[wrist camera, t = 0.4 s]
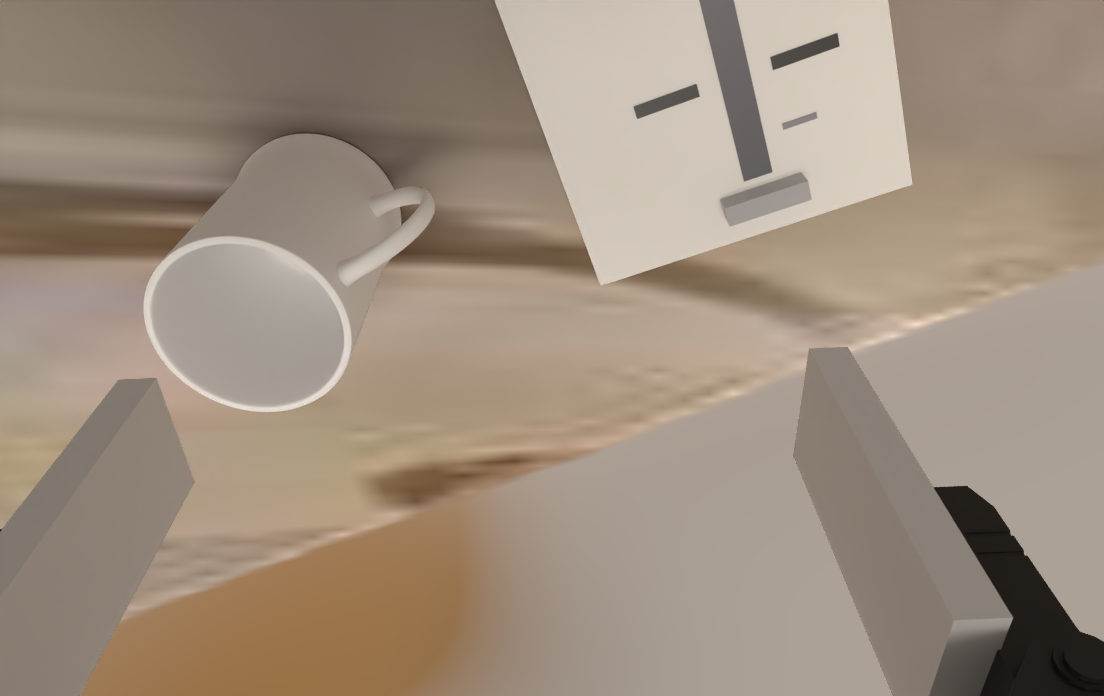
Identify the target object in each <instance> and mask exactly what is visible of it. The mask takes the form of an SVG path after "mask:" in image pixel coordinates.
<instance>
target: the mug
mask: <svg viewBox="0 0 1104 696" xmlns="http://www.w3.org/2000/svg"><path fill="white" fill-rule="evenodd" d="M411 204H420V205H419V207H418V208H417V210H416V211H415V212H414V213H413V214H412V216H411V217H410V218H409V219H408V220H407V221H405V222H404V223H403V224H402V225H401V210H400V207H402V206H406V205H411ZM434 212H435V203H434V200H433V198H432V196H431V194H430V193H429V192H428V191H427V190H425V189H424V188H421V187H405V188H400V189H396V190H394V188H393V186H392V184H391V183H390V181H389V179H388V178H387V176H386V175H385V174H384V172H383V171H382V170H381V169H380V167H379V166H378V165H377V164H376V163H375V162H374V161H373V160H372V159H371V158H369V157H368V156H367V155H366V154H364V153H363V152H362V151H360V150H359V149H357V148H356V147H354V146H352V145H350V144H348V143H346V142H344V141H341V140H339V139H336V138H333V137H329V136H325V135H319V134H293V135H288V136H284V137H280V138H277V139H275V140H273V141H270V142H268V143H267V144H265V145H263V146H262V147H260V148H259V149H258V150H257V151H255V152H254V153H253V154H252V155H251V156H250V157H249V159H248V160H247V161H246V162H245V164H244V165H243V167H242V169H241V171H240V173H239V175H238V177H237V180H236V181H235V182H234V183H233V184H232V185H231V186H230V187H229V188H228V189H227V191H226V192H225V193H224V194H223V195H222V196H221V197H220V198H219V199H218V200H217V201H216V203H215V204H214V205H213V206H212V207H211V208H210V209H209V210H208V211H207V212H206V213H205V214H204V216H203V217H202V218H201V219H200V220H199V221H198V222H197V223H196V224H195V225H194V226H193V228H192V229H191V230H190V231H189V232H188V233H187V234H186V235H185V236H184V237H183V238H182V240H181V241H180V242H179V243H178V244H177V245H176V246H175V247H174V248H173V249H172V250H171V251H170V253H169V254H168V255H167V256H166V257H165V258H164V259H163V260H162V261H161V263H160V264H159V265H158V266H157V268H156V269H155V271H154V272H153V274H152V276H151V278H150V280H149V282H148V285H147V288H146V292H145V296H144V319H145V324H146V328H147V332H148V335H149V337H150V340H151V342H152V344H153V346H154V348H155V350H156V351H157V353H158V355H159V356H160V358H161V359H162V360H163V362H164V363H165V364H166V365H167V367H168V368H169V369H170V370H171V371H172V372H173V373H174V374H175V375H176V376H177V377H178V378H179V379H180V380H182V381H183V382H184V383H185V384H187V385H188V386H189V387H191V388H192V389H194V390H195V391H197V392H199V393H200V394H202V395H204V396H206V397H208V398H210V399H212V400H214V401H216V402H219V403H221V404H224V405H227V406H230V407H234V408H238V409H242V410H248V411H257V412H277V411H285V410H290V409H294V408H298V407H301V406H304V405H306V404H309V403H311V402H313V401H315V400H317V399H318V398H320V397H321V396H323V395H324V394H325V393H327V392H328V391H329V390H330V389H331V388H332V387H333V386H334V385H335V384H336V383H337V382H338V380H339V379H340V377H341V376H342V374H343V373H344V371H345V369H346V367H347V364H348V362H349V360H350V357H351V354H352V352H353V349H354V346H355V344H356V341H357V338H358V336H359V333H360V330H361V328H362V325H363V322H364V320H365V317H366V314H367V312H368V309H369V306H370V304H371V301H372V298H373V295H374V293H375V290H376V287H377V285H378V282H379V279H380V277H381V274H382V271H383V269H384V267H385V266H386V265H387V263H388V262H389V261H390V259H391V258H392V257H394V256H395V255H396V254H398V253H399V252H400V251H402V250H403V249H404V248H405V247H407V246H408V245H409V244H410V243H411V242H412V241H414V240H415V239H416V238H417V237H418V236H419V235H420V234H421V233H422V231H423V230H424V229H425V228H426V227H427V225H428V224H429V223H430V221H431V219H432V217H433V215H434Z"/></svg>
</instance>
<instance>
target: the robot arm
mask: <svg viewBox="0 0 1104 696" xmlns="http://www.w3.org/2000/svg"><path fill="white" fill-rule="evenodd" d="M793 456H794V458H795V461H796V464H797V466H798V468H799V471H800V473H801V475H802V478H803V480H804V483H805V485H806V488H807V490H808V492H809V495H810V497H811V500H812V502H813V504H814V507H815V509H816V511H817V514H818V516H819V519H820V521H821V523H822V526H823V528H824V531H825V533H826V536H827V538H828V541H829V543H830V545H831V548H832V550H833V553H834V555H835V557H836V560H837V562H838V565H839V567H840V569H841V572H842V574H843V577H844V579H845V581H846V584H847V586H848V589H849V591H850V594H851V596H852V598H853V601H854V603H855V606H856V608H857V610H858V613H859V615H860V617H861V620H862V622H863V625H864V627H865V630H866V632H867V635H868V637H869V639H870V642H871V644H872V647H873V649H874V651H875V654H876V656H877V658H878V661H879V663H880V666H881V668H882V671H883V673H884V676H885V678H886V680H887V683H888V685H889V688H890V690H891V692H892V695H893V696H1104V642H1103V641H1101V640H1099V639H1098V638H1096V637H1094V636H1091V635H1088V634H1085V633H1082V632H1080V631H1079V630H1078V629H1077V627H1076V626H1075V625H1074V623H1073V622H1072V620H1071V619H1070V617H1069V616H1068V614H1067V613H1066V612H1065V610H1064V609H1063V607H1062V606H1061V604H1060V603H1059V601H1058V600H1057V598H1056V597H1055V595H1054V594H1053V592H1052V591H1051V590H1050V588H1049V587H1048V585H1047V584H1046V582H1045V581H1044V579H1043V578H1042V576H1041V575H1040V574H1039V572H1038V571H1037V569H1036V568H1035V566H1034V565H1033V563H1032V562H1031V560H1030V559H1029V557H1028V556H1025V555H1024V551H1023V549H1022V547H1021V546H1020V544H1019V543H1018V541H1017V540H1016V538H1015V537H1014V536H1011V534H1010V530H1009V528H1008V527H1007V525H1006V524H1005V522H1004V521H1003V519H1002V518H1001V517H1000V515H999V514H998V512H997V511H996V509H995V508H994V507H993V506H992V505H991V504H990V503H988V502H987V501H986V500H984V499H983V498H982V497H981V496H979V495H978V494H977V493H975V492H974V491H973V490H972V489H970V488H969V487H968V486H954V487H933V486H932V484H931V483H930V481H929V479H928V478H927V476H926V474H925V473H924V471H923V470H922V468H921V466H920V465H919V463H918V461H917V460H916V458H915V457H914V455H913V453H912V452H911V450H910V448H909V447H908V445H907V443H906V442H905V440H904V438H903V437H902V435H901V434H900V432H899V430H898V429H897V427H896V426H895V424H894V422H893V421H892V419H891V418H890V416H889V414H888V412H887V411H886V409H885V407H884V406H883V404H882V403H881V401H880V399H879V398H878V396H877V394H876V393H875V391H874V390H873V388H872V386H871V385H870V383H869V381H868V380H867V378H866V377H865V375H864V373H863V371H862V370H861V368H860V367H859V365H858V364H857V362H856V360H855V358H854V357H853V355H852V353H851V352H850V350H849V349H848V347H837V348H815V349H809V353H808V360H807V366H806V373H805V380H804V387H803V394H802V400H801V407H800V414H799V421H798V427H797V434H796V441H795V447H794V455H793ZM193 484H194V479H193V476H192V473H191V471H190V468H189V465H188V463H187V460H186V457H185V454H184V452H183V449H182V446H181V444H180V441H179V438H178V435H177V433H176V430H175V427H174V425H173V422H172V419H171V416H170V414H169V411H168V408H167V406H166V403H165V400H164V397H163V395H162V392H161V389H160V387H159V384H158V381H157V378H146V379H123V380H118V381H117V382H116V384H115V385H114V386H113V388H112V389H111V390H110V391H109V393H108V394H107V395H106V397H105V398H104V399H103V400H102V402H101V403H100V404H99V406H98V407H97V408H96V409H95V411H94V412H93V413H92V415H91V416H90V417H89V418H88V420H87V421H86V422H85V424H84V425H83V426H82V427H81V429H80V430H79V431H78V432H77V434H76V435H75V436H74V438H73V439H72V440H71V441H70V443H69V444H68V445H67V447H66V448H65V449H64V450H63V452H62V453H61V454H60V456H59V457H58V458H57V459H56V461H55V462H54V463H53V465H52V466H51V467H50V468H49V470H48V471H47V472H46V474H45V475H44V476H43V477H42V479H41V480H40V481H39V483H38V484H37V485H36V486H35V488H34V489H33V490H32V492H31V493H30V494H29V495H28V497H27V498H26V499H25V500H24V502H23V503H22V504H21V506H20V507H19V508H18V509H17V511H16V512H15V513H14V515H13V516H12V517H11V518H10V520H9V521H8V522H7V524H6V525H5V526H4V527H3V529H0V696H80V694H81V692H82V690H83V689H84V687H85V685H86V683H87V681H88V679H89V677H90V675H91V674H92V672H93V670H94V668H95V666H96V664H97V662H98V661H99V659H100V657H101V655H102V653H103V651H104V650H105V647H106V645H107V644H108V642H109V640H110V638H111V636H112V634H113V633H114V631H115V629H116V627H117V625H118V623H119V622H120V620H121V618H122V616H123V614H124V612H125V610H126V609H127V607H128V605H129V603H130V601H131V599H132V597H133V595H134V594H135V592H136V590H137V588H138V586H139V584H140V582H141V581H142V579H143V577H144V575H145V573H146V571H147V569H148V568H149V566H150V564H151V562H152V560H153V558H154V556H155V554H156V553H157V551H158V549H159V547H160V545H161V543H162V541H163V540H164V538H165V536H166V534H167V532H168V530H169V528H170V527H171V525H172V523H173V521H174V519H175V517H176V515H177V513H178V512H179V510H180V508H181V506H182V504H183V502H184V500H185V499H186V497H187V495H188V493H189V491H190V489H191V487H192V486H193Z"/></svg>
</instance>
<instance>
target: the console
mask: <svg viewBox="0 0 1104 696" xmlns="http://www.w3.org/2000/svg"><path fill="white" fill-rule="evenodd" d="M495 3H496V6H497V8H498V11H499V14H500V16H501V19H502V22H503V25H504V27H505V30H506V33H507V35H508V38H509V41H510V43H511V46H512V49H513V51H514V54H515V57H516V59H517V62H518V65H519V68H520V70H521V73H522V76H523V78H524V81H525V84H526V86H527V89H528V92H529V94H530V97H531V100H532V102H533V105H534V108H535V111H536V113H537V116H538V119H539V121H540V124H541V127H542V129H543V132H544V135H545V137H546V140H547V143H548V145H549V148H550V151H551V154H552V156H553V159H554V162H555V164H556V167H557V170H558V172H559V175H560V178H561V180H562V183H563V186H564V189H565V191H566V194H567V197H568V199H569V202H570V205H571V207H572V210H573V213H574V215H575V218H576V221H577V223H578V226H579V229H580V232H581V234H582V237H583V240H584V242H585V245H586V248H587V250H588V253H589V256H590V258H591V261H592V264H593V266H594V269H595V272H596V275H597V277H598V280H599V283H600V285H604V284H607V283H611V282H614V281H617V280H620V279H623V278H626V277H629V276H632V275H635V274H638V273H641V272H644V271H647V270H651V269H654V268H657V267H660V266H663V265H666V264H669V263H672V262H675V261H678V260H681V259H684V258H687V257H691V256H694V255H697V254H700V253H703V252H706V251H709V250H712V249H715V248H718V247H721V246H724V245H727V244H731V243H734V242H737V241H740V240H743V239H746V238H749V237H752V236H755V235H758V234H761V233H764V232H768V231H771V230H774V229H777V228H780V227H783V226H786V225H789V224H792V223H795V222H798V221H801V220H804V219H808V218H811V217H814V216H817V215H820V214H823V213H826V212H829V211H832V210H835V209H838V208H841V207H844V206H848V205H851V204H854V203H857V202H860V201H863V200H866V199H869V198H872V197H875V196H878V195H881V194H884V193H888V192H891V191H894V190H897V189H900V188H903V187H906V186H909V185H912V178H911V171H910V163H909V156H908V148H907V141H906V133H905V125H904V118H903V110H902V103H901V95H900V88H899V80H898V72H897V65H896V57H895V50H894V42H893V35H892V27H891V19H890V12H889V4H888V0H495Z"/></svg>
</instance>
